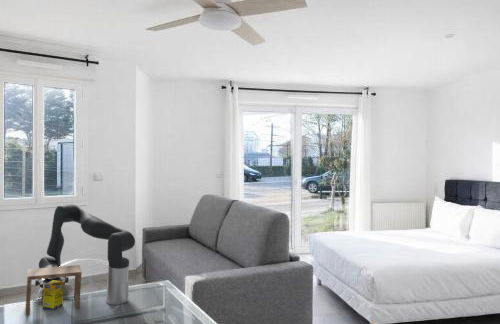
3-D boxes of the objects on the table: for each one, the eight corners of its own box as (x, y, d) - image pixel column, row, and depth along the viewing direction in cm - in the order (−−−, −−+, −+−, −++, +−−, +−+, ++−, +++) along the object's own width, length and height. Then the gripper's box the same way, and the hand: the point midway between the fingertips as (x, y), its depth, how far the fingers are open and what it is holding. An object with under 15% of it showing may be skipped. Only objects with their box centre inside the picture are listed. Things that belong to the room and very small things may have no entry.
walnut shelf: (77, 299, 180) (79, 265, 179) (79, 307, 171) (81, 271, 170) (25, 305, 169) (27, 269, 168) (25, 314, 160) (27, 276, 160)
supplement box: (53, 310, 166) (55, 286, 166) (42, 308, 168) (43, 284, 167) (63, 305, 172) (64, 281, 172) (51, 303, 174) (53, 279, 173)
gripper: (35, 267, 188) (35, 278, 174) (67, 265, 195) (69, 275, 181) (34, 282, 188) (34, 294, 174) (66, 279, 196) (68, 291, 181)
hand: (52, 285), depth 178 cm, fingers open, 8 cm apart
